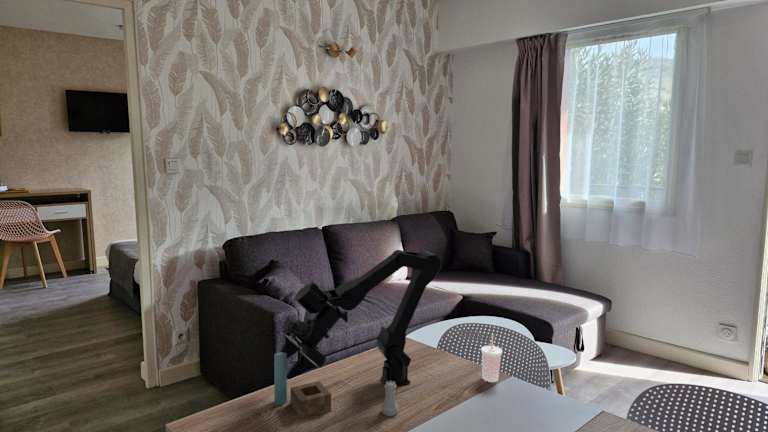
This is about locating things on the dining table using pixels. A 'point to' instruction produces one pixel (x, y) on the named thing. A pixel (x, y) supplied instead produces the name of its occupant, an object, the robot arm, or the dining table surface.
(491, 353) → the beverage cup
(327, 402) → the walnut hole block
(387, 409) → the rook chess piece
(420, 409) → the dining table surface
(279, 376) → the teal pin
